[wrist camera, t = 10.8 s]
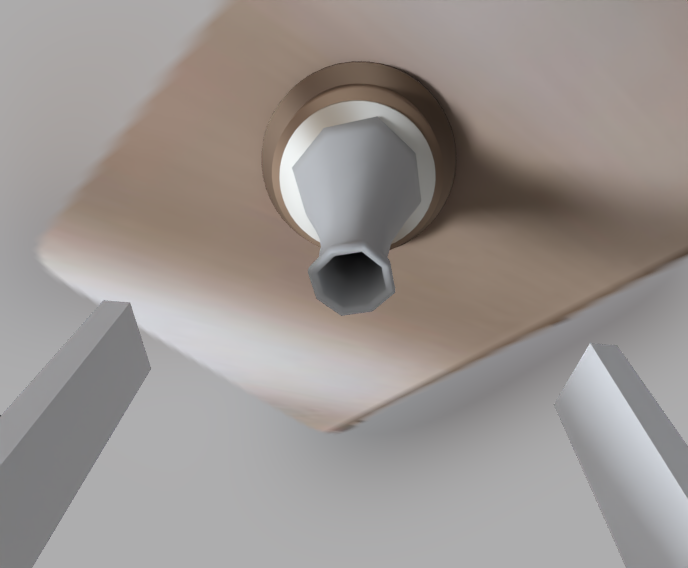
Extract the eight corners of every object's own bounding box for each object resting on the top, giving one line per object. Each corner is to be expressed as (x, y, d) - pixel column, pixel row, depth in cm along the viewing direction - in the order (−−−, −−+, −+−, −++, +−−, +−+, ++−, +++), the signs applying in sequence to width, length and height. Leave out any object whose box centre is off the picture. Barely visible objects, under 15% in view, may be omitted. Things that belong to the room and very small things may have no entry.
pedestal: (371, 6, 20) (372, 7, 18) (491, 179, 25) (502, 196, 23) (224, 158, 25) (211, 173, 23) (348, 278, 30) (346, 300, 28)
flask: (441, 204, 24) (479, 312, 16) (337, 255, 26) (322, 372, 18) (384, 89, 20) (395, 150, 12) (270, 160, 23) (215, 250, 14)
